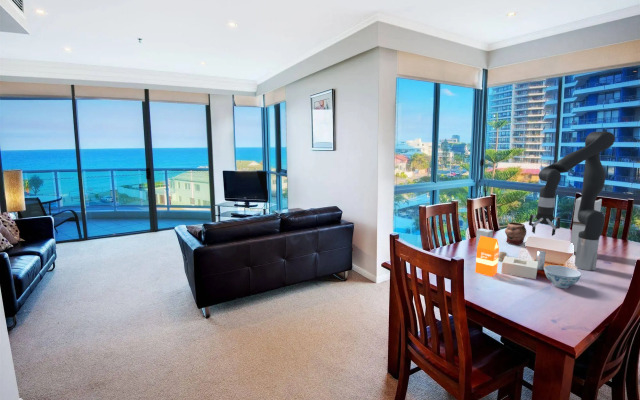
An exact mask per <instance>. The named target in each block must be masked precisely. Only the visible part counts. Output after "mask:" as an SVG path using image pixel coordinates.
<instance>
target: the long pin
mask: <svg viewBox="0 0 640 400" xmlns="http://www.w3.org/2000/svg"><path fill="white" fill-rule="evenodd" d="M535 261H538V266H537V271H544V267H545V261H546V251H543V250H537V251H536V257H535Z"/></svg>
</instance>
